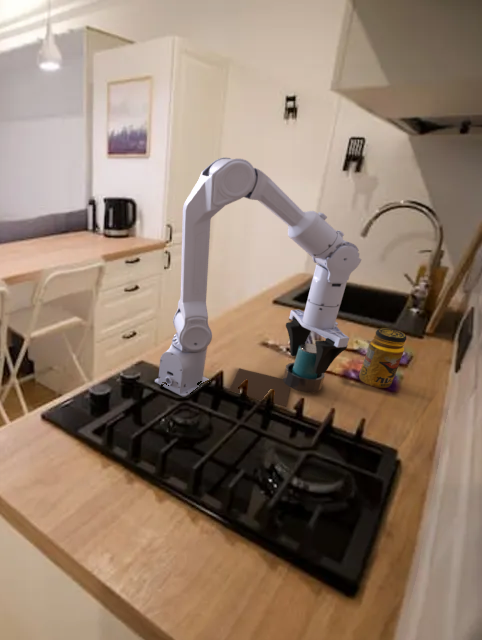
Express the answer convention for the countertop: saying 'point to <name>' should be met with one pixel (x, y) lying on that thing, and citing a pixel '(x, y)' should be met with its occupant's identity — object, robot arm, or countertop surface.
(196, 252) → the robot arm
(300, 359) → the can
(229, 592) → the countertop surface
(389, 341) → the condiment
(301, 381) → the ring
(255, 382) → the coaster
